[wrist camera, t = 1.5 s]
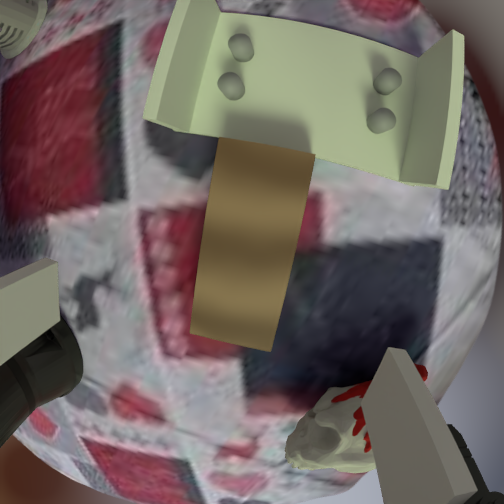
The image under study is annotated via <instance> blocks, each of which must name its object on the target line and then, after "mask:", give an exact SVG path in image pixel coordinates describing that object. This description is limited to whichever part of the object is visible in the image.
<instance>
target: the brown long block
mask: <svg viewBox="0 0 504 504" xmlns="http://www.w3.org/2000/svg"><path fill="white" fill-rule="evenodd" d="M315 155H316V154H312V153H307V152H303V151H298V150H293V149H288V148H283V147H278V146H272V145H267V144H262V143H256V142H250V141H244V140H238V139H231V138H224V137H219V140H218V146H217V151H216V156H215V162H214V167H213V173H212V179H211V185H210V190H209V196H208V203H207V209H206V215H205V221H204V228H203V234H202V241H201V248H200V255H199V262H198V269H197V277H196V284H195V292H194V300H193V308H192V317H191V326H190V333H191V334H195V335H199V336H203V337H207V338H211V339H215V340H219V341H223V342H228V343H232V344H236V345H241V346H245V347H250V348H254V349H259V350H264V351H269V352H271V349H272V345H273V341H274V337H275V333H276V329H277V325H278V321H279V317H280V313H281V309H282V305H283V301H284V297H285V293H286V289H287V285H288V281H289V276H290V272H291V268H292V264H293V259H294V255H295V250H296V246H297V242H298V237H299V233H300V228H301V223H302V219H303V214H304V210H305V205H306V200H307V195H308V190H309V186H310V181H311V176H312V171H313V166H314V161H315Z"/></svg>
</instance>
